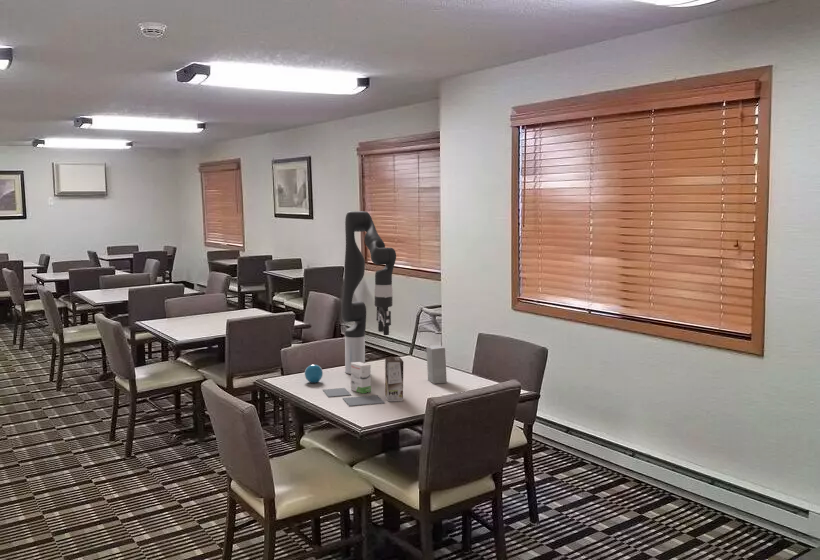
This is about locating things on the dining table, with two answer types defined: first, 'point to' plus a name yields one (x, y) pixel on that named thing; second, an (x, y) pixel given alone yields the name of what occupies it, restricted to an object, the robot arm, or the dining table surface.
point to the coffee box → (394, 379)
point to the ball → (313, 373)
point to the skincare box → (436, 364)
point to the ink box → (360, 377)
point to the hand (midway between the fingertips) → (383, 333)
